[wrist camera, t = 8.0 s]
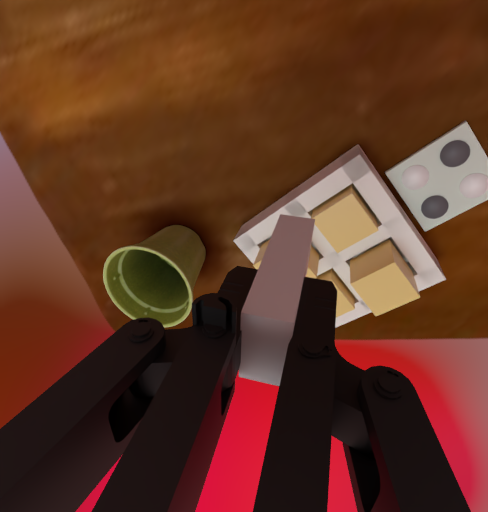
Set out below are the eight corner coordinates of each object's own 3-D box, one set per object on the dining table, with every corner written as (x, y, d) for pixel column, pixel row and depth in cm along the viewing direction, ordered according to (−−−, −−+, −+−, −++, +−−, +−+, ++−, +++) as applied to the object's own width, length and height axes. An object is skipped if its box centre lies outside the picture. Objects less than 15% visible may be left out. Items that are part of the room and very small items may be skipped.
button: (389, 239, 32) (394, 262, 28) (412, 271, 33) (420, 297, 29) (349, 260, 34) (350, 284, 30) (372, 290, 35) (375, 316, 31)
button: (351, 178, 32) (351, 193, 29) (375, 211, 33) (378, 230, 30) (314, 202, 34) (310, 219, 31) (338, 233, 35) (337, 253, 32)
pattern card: (465, 120, 29) (467, 122, 28) (504, 188, 30) (507, 190, 30) (384, 171, 32) (385, 173, 32) (424, 230, 34) (425, 232, 33)
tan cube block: (332, 257, 36) (331, 279, 33) (353, 285, 37) (354, 309, 34) (300, 275, 38) (296, 297, 35) (322, 301, 39) (319, 324, 36)
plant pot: (139, 263, 44) (99, 306, 37) (150, 197, 39) (106, 232, 32) (208, 292, 44) (181, 340, 37) (228, 228, 39) (202, 270, 32)
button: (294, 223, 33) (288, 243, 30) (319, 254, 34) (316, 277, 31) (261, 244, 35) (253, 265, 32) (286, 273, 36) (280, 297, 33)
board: (358, 143, 31) (359, 154, 28) (437, 259, 35) (446, 279, 32) (241, 225, 38) (233, 240, 35) (318, 315, 42) (315, 336, 39)
